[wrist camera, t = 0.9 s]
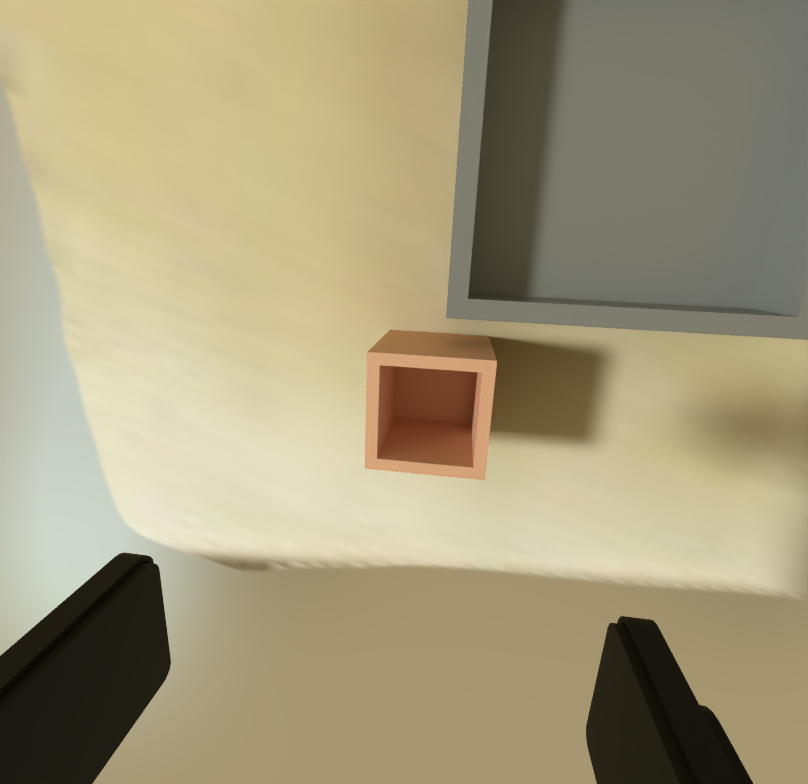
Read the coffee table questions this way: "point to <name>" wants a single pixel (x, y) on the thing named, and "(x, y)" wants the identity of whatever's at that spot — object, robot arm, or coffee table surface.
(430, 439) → the small crate
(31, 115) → the coffee table surface
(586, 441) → the coffee table surface
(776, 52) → the grey square tray
